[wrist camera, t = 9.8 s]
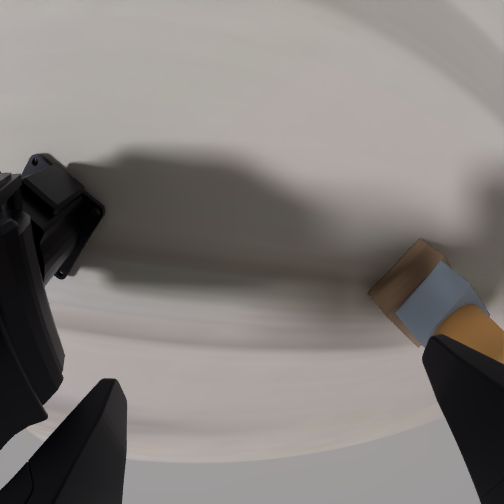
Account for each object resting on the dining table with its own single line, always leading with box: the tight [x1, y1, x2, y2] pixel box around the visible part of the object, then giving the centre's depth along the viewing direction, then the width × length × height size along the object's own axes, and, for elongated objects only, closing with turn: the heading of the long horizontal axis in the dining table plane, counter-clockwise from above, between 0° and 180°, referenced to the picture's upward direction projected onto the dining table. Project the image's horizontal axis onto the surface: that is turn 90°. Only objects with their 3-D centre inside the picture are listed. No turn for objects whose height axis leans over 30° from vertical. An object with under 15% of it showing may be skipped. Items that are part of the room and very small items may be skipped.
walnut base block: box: [368, 238, 452, 348], centre depth 22 cm, size 6×6×4 cm
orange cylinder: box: [433, 304, 504, 364], centre depth 16 cm, size 5×5×4 cm
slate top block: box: [395, 261, 490, 348], centre depth 19 cm, size 5×5×4 cm
